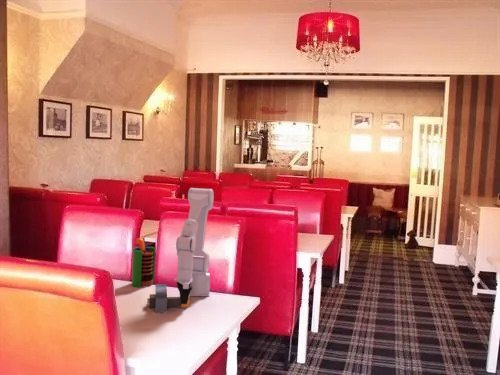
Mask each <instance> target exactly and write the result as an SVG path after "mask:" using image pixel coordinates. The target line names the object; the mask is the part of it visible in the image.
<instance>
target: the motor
mask: <svg viewBox="0 0 500 375" xmlns="http://www.w3.org/2000/svg"><path fill="white" fill-rule="evenodd" d="M135 244H136V245H137V244H139V246H136V247H134V248H132V268H131V269H132V271H131V273H132V274H131V286H132V287H136V288H141V286H147V287H151V286H153V283H154V282H155V281H154V280H155V265H156V264H155V263H156V260H155V259H156V248H155V247H154V246H146V244H145V241H144V238H139V237H138V238H136V239H135Z"/></svg>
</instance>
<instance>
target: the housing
mask: <svg viewBox="0 0 500 375" xmlns="http://www.w3.org/2000/svg"><path fill="white" fill-rule="evenodd" d="M167 291H168V290H167V284H161V283H160V284H155V294H156V307H155V308H154V309H155V313H167V308H168V307H167V297H168V292H167Z"/></svg>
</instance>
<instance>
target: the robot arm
mask: <svg viewBox="0 0 500 375" xmlns="http://www.w3.org/2000/svg"><path fill="white" fill-rule="evenodd" d="M214 194H215V192H214V190H213V188H197V187H190V188H189V189H188V193H187V200H188V203H189V205H190V207H189V212H188V216H187V217H188V218H187V219H186V220H184V222H183V225H182V229H181V233H180V236H178V237H177V238H176V242H175V249H176V256H177V269H176V270H177V272H176V273H177V275H176V277H174V278H173V281H174V282H176V285H177V289H178V291H179V292H178V293H179V297H180V299H181V304H187V302H188V298H189V296H190V297H210V290H211V274H210V272H208V271H209V269H210V255H209V253H208V252H207V251H206V249H205V248H204V247H205V241H206V240H205V239H206V229H207V222H208V215H209V211H211V210H212V209H213V206H214V200H215V199H214V198H215V196H214Z"/></svg>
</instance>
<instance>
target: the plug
mask: <svg viewBox="0 0 500 375" xmlns="http://www.w3.org/2000/svg"><path fill="white" fill-rule="evenodd" d="M190 297H191V296H189V298H188V302H187V304H181V299H180V296H167V308H176V307H179V308H189V307H190ZM146 302H147V304H148V306H149V308H148V309H155V307H156V293H152V294H149V298H147V299H146Z"/></svg>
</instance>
